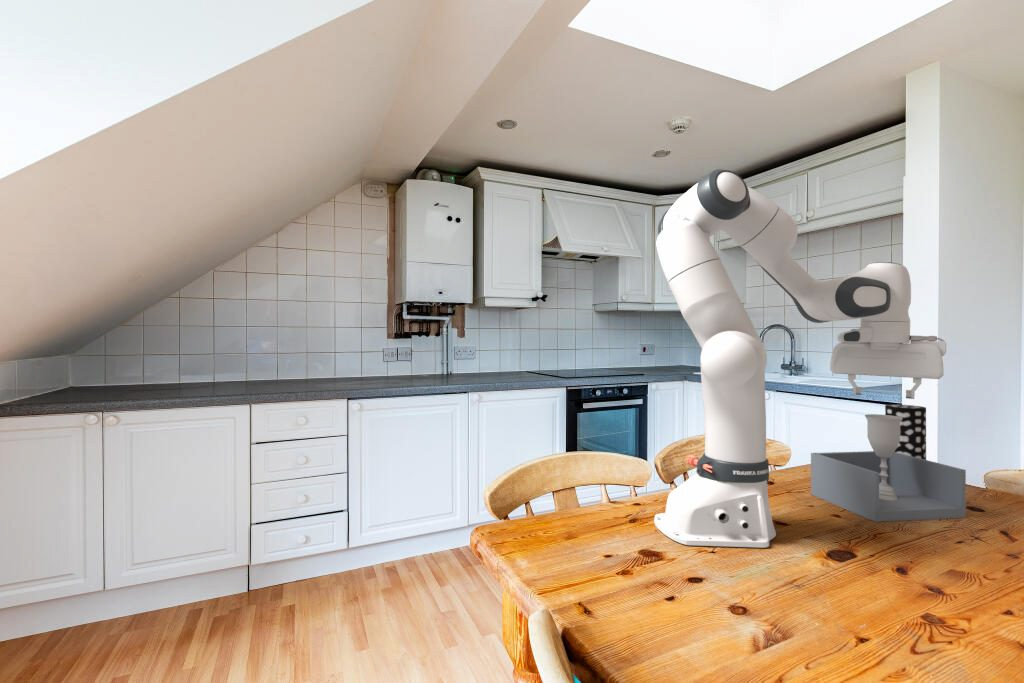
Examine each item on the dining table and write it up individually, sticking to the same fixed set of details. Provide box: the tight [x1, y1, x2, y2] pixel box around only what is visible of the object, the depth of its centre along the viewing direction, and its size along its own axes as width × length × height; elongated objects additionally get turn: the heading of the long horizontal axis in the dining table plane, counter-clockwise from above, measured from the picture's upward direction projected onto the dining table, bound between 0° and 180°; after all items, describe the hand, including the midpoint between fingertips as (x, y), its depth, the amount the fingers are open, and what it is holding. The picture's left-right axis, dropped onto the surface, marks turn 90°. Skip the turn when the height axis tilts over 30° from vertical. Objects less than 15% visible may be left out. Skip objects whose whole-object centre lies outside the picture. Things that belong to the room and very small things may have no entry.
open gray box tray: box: [810, 450, 967, 523], centre depth 109 cm, size 21×18×10 cm
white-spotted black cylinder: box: [884, 403, 927, 460], centre depth 126 cm, size 8×8×20 cm
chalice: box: [864, 413, 903, 500], centre depth 109 cm, size 7×7×18 cm
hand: (882, 396), depth 109 cm, fingers open, 8 cm apart
